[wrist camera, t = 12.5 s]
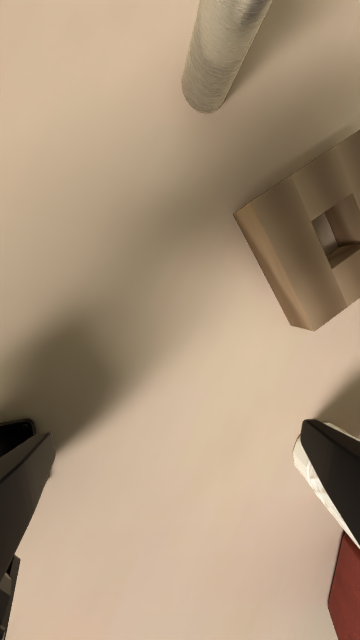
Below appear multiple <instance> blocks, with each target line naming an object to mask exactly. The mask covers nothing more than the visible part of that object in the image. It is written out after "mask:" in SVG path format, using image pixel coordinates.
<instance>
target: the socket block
mask: <svg viewBox="0 0 360 640" xmlns="http://www.w3.org/2000/svg"><path fill="white" fill-rule="evenodd" d="M324 212H325V214H326V216H327V219H328V221H329V223H330V226H331V228H332V231H333V233H334V236H335V238H336V240H337V243H338V245H339V248H337V249H336V250H335V251H333V252H332V253H330V254H329V255H328V256H326V255H325V253H324V250H323V248H322V246H321V243H320V241H319V239H318V237H317V234H316V232H315V230H314V227H313V225H312V223H311V221H312V220H314V219H315V218H317V217H318V216H320V215H321V214H323V213H324ZM233 215H234V217H235V219H236V221H237V223H238V225H239V226H240V228H241V230H242V232H243V234H244V236H245V238H246V240H247V242H248V244H249V246H250V248H251V250H252V251H253V253H254V255H255V257H256V259H257V261H258V263H259V265H260V267H261V269H262V271H263V273H264V275H265V277H266V278H267V280H268V282H269V284H270V286H271V288H272V290H273V292H274V294H275V296H276V298H277V300H278V302H279V304H280V305H281V307H282V309H283V311H284V313H285V315H286V317H287V319H288V321H289V323H290V325H292V326H296V327H300V328H304V329H308V330H311V331H316V330H317V329H318V328H320V327H321V326H322V325H324V324H325V323H326V322H328V321H329V320H330V319H332V318H333V317H335V316H336V315H337V314H339V313H340V312H341V311H343V310H344V309H345V308H347V307H348V306H349V305H351V304H352V303H353V302H355V301H356V300H357V299H359V298H360V130H359V131H357V132H356V133H354V134H353V135H351V136H350V137H348V138H347V139H345V140H344V141H342V142H341V143H339V144H338V145H336V146H334V147H333V148H331V149H330V150H328V151H327V152H325V153H324V154H322V155H321V156H319V157H318V158H316V159H315V160H313V161H312V162H310V163H309V164H307V165H306V166H304V167H303V168H301V169H300V170H298V171H297V172H295V173H294V174H292V175H290V176H289V177H287V178H286V179H284V180H283V181H281V182H280V183H278V184H277V185H275V186H274V187H272V188H271V189H269V190H268V191H266V192H265V193H263V194H262V195H260V196H259V197H257V198H256V199H254V200H253V201H251V202H250V203H248V204H247V205H246V206H244V207H243V208H241V209H240V210H239V211H237V212H236V213H234V214H233Z"/></svg>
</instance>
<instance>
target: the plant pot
mask: <svg viewBox="0 0 360 640" xmlns="http://www.w3.org/2000/svg"><path fill="white" fill-rule="evenodd" d="M328 609H329V612H330V615H331V619H332V622H333V625H334V628H335V631H336V634H337V637H338V640H360V549H359V548H358V546H357V545H356V544H355V543H354V541H353V540H352V539H351V538H350V536H349V535H348V534H347V533H346V534H345V535H344V536H343V539H342V544H341V548H340V553H339V557H338V561H337V566H336V570H335V575H334V580H333V584H332V589H331V593H330V598H329V602H328Z"/></svg>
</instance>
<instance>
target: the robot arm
mask: <svg viewBox="0 0 360 640" xmlns="http://www.w3.org/2000/svg"><path fill="white" fill-rule="evenodd" d="M24 424H26V425H28V427H25V426H24ZM300 441H301V445H302V447H303V449H304V451H305V453H306V455H307V457H308V459H309V461H310V463H311V464H312V466H313V468H314V470H315V472H316V474H317V476H318V478H319V480H320V482H321V484H322V486H323V487H324V489H325V491H326V493H327V494H328V496H329V498H330V499H331V501H332V503H333V504H334V506H335V507H336V509H337V511H338V512H339V514H340V515H341V517H342V519H343V520H344V522H345V524H346V525H347V527H348V528H349V530H350V532H351V533H352V535H353V536H354V538H355V540H356V541H357V543H358V544H359V546H360V441H358V440H356V439H354V438H352V437H350V436H348V435H346V434H344V433H342V432H340V431H338V430H336V429H334V428H332V427H330V426H328V425H326V424H324V423H322V422H320V421H318V420H316V419H306V420H304V421H303V423H302V429H301V435H300ZM54 459H55V446H54V439H53V434H52V433H51V432H41V433H37V434H36V431H35V426H34V422H33V421H32V420H31V419H21V420H16V421H10V422H5V423H0V640H5V637H6V632H7V627H8V622H9V617H10V611H11V606H12V601H13V596H14V591H15V585H16V580H17V575H18V570H19V565H20V558H18V557H17V556H16V555H14V554H15V552H16V550H17V548H18V546H19V543H20V541H21V539H22V537H23V535H24V533H25V531H26V529H27V527H28V525H29V523H30V520H31V518H32V516H33V514H34V512H35V509H36V507H37V504H38V502H39V499H40V496H41V494H42V491H43V488H44V486H45V484H46V482H47V478H48V475H49V472H50V470H51V467H52V464H53V462H54Z"/></svg>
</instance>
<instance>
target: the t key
mask: <svg viewBox="0 0 360 640" xmlns="http://www.w3.org/2000/svg"><path fill="white" fill-rule="evenodd" d="M272 1H273V0H200V2H199V7H198V11H197V15H196V19H195V24H194V28H193V32H192V37H191V41H190V45H189V50H188V54H187V58H186V63H185V67H184V71H183V76H182V90H183V93H184V96H185V98H186V100H187V101H188V103H189V104H190V105H191V106H192V107H193V108H194V109H196V110H197V111H199V112H202V113H211V112H214V111H216V110H217V109H219V108H220V106H221V105H222V104H223V101H224V99H225V97H226V95H227V93H228V91H229V89H230V87H231V85H232V83H233V81H234V79H235V77H236V75H237V73H238V71H239V69H240V67H241V64H242V62H243V60H244V58H245V56H246V54H247V52H248V50H249V48H250V46H251V44H252V42H253V40H254V38H255V36H256V34H257V32H258V30H259V27H260V25H261V23H262V21H263V19H264V17H265V15H266V13H267V11H268V9H269V7H270V5H271V3H272Z"/></svg>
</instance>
